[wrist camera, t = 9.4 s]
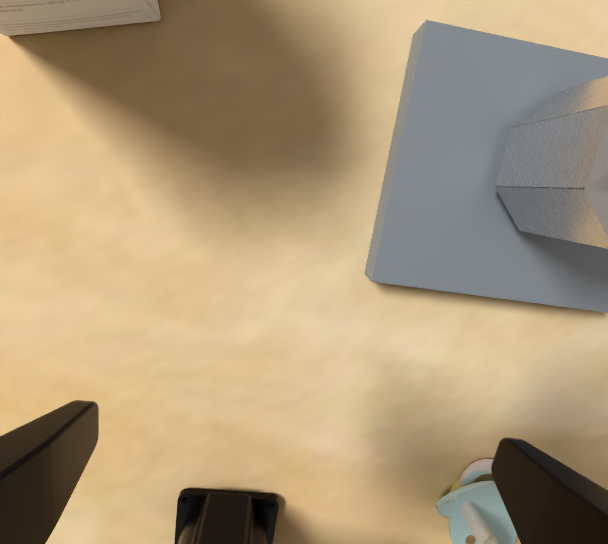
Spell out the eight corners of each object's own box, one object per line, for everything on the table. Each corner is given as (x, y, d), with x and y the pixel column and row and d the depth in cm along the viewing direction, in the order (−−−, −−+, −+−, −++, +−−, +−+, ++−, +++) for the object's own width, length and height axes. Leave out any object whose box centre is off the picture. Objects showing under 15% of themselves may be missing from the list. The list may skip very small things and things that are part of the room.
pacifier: (498, 437, 23) (419, 473, 23) (578, 525, 17) (470, 574, 17) (526, 510, 25) (451, 543, 25) (606, 613, 19) (508, 656, 19)
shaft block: (588, 303, 21) (665, 334, 16) (364, 273, 19) (387, 299, 15) (670, 87, 18) (790, 59, 13) (413, 34, 16) (458, -16, 12)
